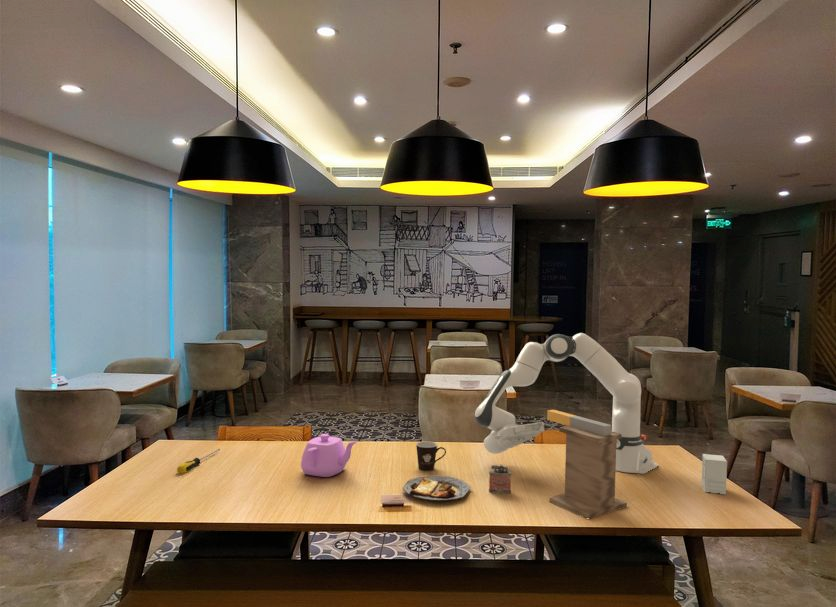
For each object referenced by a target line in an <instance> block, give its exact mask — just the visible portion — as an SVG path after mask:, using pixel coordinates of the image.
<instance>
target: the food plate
mask: <svg viewBox="0 0 836 607" xmlns="http://www.w3.org/2000/svg"><path fill="white" fill-rule="evenodd" d="M455 489H456V490H455ZM470 489H471V485H470V484H469V483H467V482H466V481H464V480H462V479H460V478H457V477H452V476H449V475H448V476H446V475H438V474H437V475H423V476H422V475H421V476H417V477H414V478H410V479H409V480H407V481H406V483H405V484H403V486H402V491H404V492H405V493H406V494H407V495H408V496H410V497H412V498H418V499H422V500H427V501H434V502H435V501H436V502H439V501H446V502H447V501H455V500H458V499H462V498H463V497H465V496H466V494H467V493H468V492H469V491H470Z"/></svg>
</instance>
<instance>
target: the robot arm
mask: <svg viewBox="0 0 836 607" xmlns="http://www.w3.org/2000/svg"><path fill="white" fill-rule="evenodd" d="M568 357H574V358H575V359H576V360H578V362H580V364H582V365H583V366H584V367H585V368H586V369H587V370H588V371H589V372H590V373H591V374H592V375H593V376H594V377H595V378H596V379H597V380H598V381H599V382H600V383H601V384H602V385H603V387H604V388H605V389H606V390H607V391H608V392H609V394H611V395H612V411H611V412H612V415H611V416H612V417H611V431H613V432H616V433H620V434H622V438H621V439H617V440H616V471H617V472H622V473H632V474H634V473H635V474H641V475H642V474H647V473H649V472H651V471H652V469H653V470H654V469H657V468H658V467H659V463H657V462H655V461H653V453H652V451H651V450H650V449H649V448H648V447H647V446H645V445H644V444H643V441H646V439H647V435H645V434H642V433H641V400H642V399H641V396H642V385H641V381H640V379H639V378H638V377H637V376H636V375H634V374H633V373H630V372H628V371H627V370H626V369H625V368H624V367H623V365H622V364H620V362H618V360H617V359H616V358H615V357H614V356H612V355H611V353H610V352H608V351H607V350H606V349H605V348H604V347H603V346H602V345H601V344H600V343H598V342H597V341H596V340H595V339H593V338H592V337H591V336H589V335H588V334H586V333H583V332H579V333H576V334H574V335H573V336H568V335H565V334H560V333H556V334H552V335H551V336H549V337H548V338H547V339H546V340H545V342H544V343H539V342H537V341H535V342H534V341H529V342H527V343H525V345H524V347H523V348H522V349H521V351H520V353H519V354H518V356H517V357H516V359H515V360H516V361H515V362H514V364H513V365H512V366H511V367H510V368H509V369H506V370H504V371H503V372H502V373H501V374H500V375H499V376H498V378H497V379H496V381H495V382H494V384H493V385H492V387H491V388H490V390H489V391H488V393H487V395H486V396H485V397H484V398H483V399H482V401H481V402H479V404H478V406H477V407H476V409H475V411H474V419H475V422H476V424H477V425H478V426H481V427H484V428H487V429H488V430H489V429H490V430H491V432H490V433H489V434H488V436H486V437H485V438H484V439H483V445H484V446H483V447H484V448H485V449H486V450H487V451H488V453H490V454H492V455H496V454H501V453H504V452H506V451H508V450H509V449H512V448H516V447H517V446H520V445H521V444H523V443H526V442H529V441H532V439H533V438H534V437H536V436H539V435H540V434H542V433H543V432H544V431H545V422H544V421H538V422H533V423H527V424H526V423H525V424H518V423H517V418H516V416H515V415H514V414H513V413H511V412H508V411H506V410H504V409H502V408H500V407H498V406H496V404H497V402H498V401H499V399H500V397H501V396H502V394H503V393H504V392H505V391H506V389H508V388H509V387H510V388H511V387H528V386H530V385H533V384H534V383H535V382H536V380H537V379H538V377H539V374H540V372H541V370H542V368H543V365H544V363H545V362H551V363H559V362H563V361H565V360H566V359H567V358H568ZM657 466H658V467H657ZM650 470H651V471H650ZM648 471H649V472H648Z"/></svg>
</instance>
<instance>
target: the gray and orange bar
mask: <svg viewBox="0 0 836 607" xmlns="http://www.w3.org/2000/svg"><path fill="white" fill-rule="evenodd" d="M546 414H547V417H546V420H547V421H550V422H555V423H558V424H561V425H564V426H570V427H574V428H577V429H581V430H584V431H588V432H591V433H594V434H598V435H601V436H609V435H611V431H612V424H608V423H605V422H602V421H597V420H593V419H590V418H586V417H583V416H579V415H576V414H571V413H568V412H564V411H560V410H556V409H550V410H549V409H548V410H546Z"/></svg>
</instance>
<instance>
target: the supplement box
mask: <svg viewBox="0 0 836 607" xmlns="http://www.w3.org/2000/svg"><path fill="white" fill-rule="evenodd" d="M701 460H702V462H701V464H702V466H701V467H702V468H701V487H702V489H703V491H704V493H708V492H711V493H710V494H717V493H720V495H727V476H728V475H727V474H728V472H727V471H728V470H727V469H728V461H727V459H726V458H725V457H724V455H719V454H708V453H702V458H701Z"/></svg>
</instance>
